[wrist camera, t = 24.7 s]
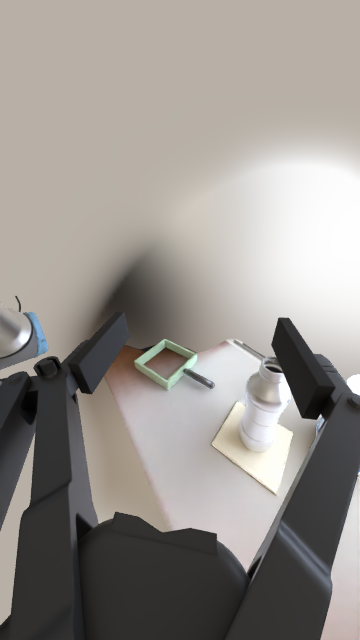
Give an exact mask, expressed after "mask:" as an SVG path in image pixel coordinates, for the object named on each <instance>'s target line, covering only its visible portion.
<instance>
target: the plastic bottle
mask: <svg viewBox="0 0 360 640" xmlns="http://www.w3.org/2000/svg"><path fill="white" fill-rule="evenodd" d="M246 399H247V400H246V408H245V411H244V414H243V416H242V417H241V419H240V422H239V424H238V433H239V437H240V440H241V441H242V443H243V444H244V445H245V446H246V447H247V448H248V449H250V450H252V451H254V452H265V451H267V450H268V449H269V448H270V447H271V446H272V445H273V443H274V440H275V428H276V424H277V421H278V419H279V417H280V415H281V413H282V412H283V411H284V409H285V408H286V407H287V405H288V404H289V402H290V399H291V391H290V388H289V386H288V383H287V381H286V379H285V376H284V374H283V371H282V369H281V367H280V364H279V362H278V359H277V357H275V356H268V357H265V358H264V359H263V360H262V363H261V366H260V368H259V371H258V372H256V373H254V374H253V375H252V376H251V377H250V378H249V380H248V381H247V385H246Z"/></svg>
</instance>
